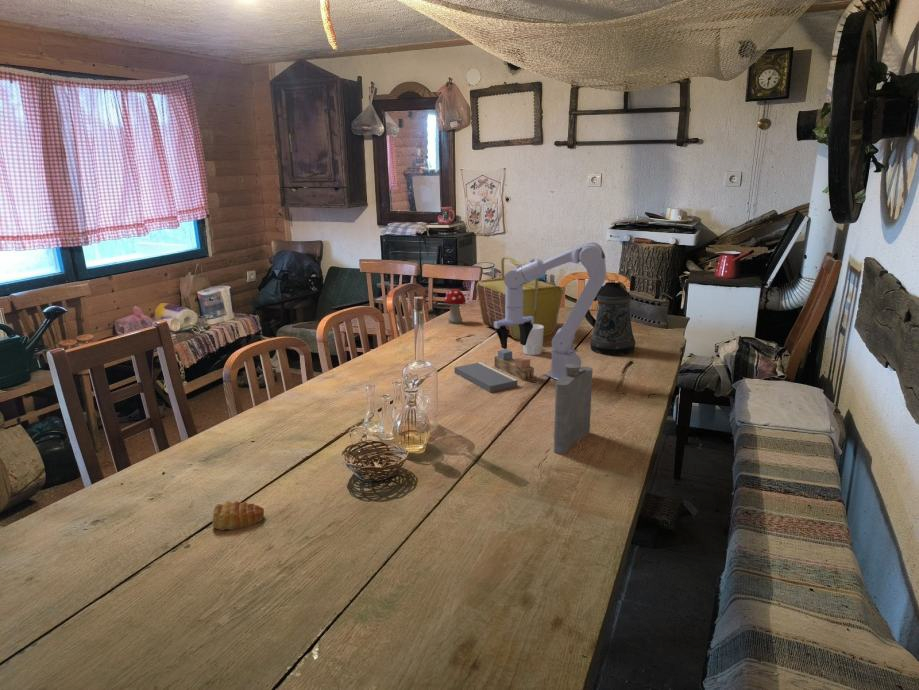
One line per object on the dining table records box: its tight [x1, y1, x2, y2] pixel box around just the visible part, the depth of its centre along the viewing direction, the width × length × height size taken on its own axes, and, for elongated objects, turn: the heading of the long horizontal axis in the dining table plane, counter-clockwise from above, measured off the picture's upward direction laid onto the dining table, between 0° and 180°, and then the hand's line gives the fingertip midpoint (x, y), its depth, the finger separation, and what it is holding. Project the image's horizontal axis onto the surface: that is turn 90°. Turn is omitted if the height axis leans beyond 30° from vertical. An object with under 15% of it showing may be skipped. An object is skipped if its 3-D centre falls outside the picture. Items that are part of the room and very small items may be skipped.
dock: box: [454, 361, 518, 393], centre depth 198 cm, size 22×10×2 cm, turn 30°
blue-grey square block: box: [497, 348, 513, 360], centre depth 208 cm, size 4×4×2 cm
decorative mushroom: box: [443, 288, 467, 325], centre depth 271 cm, size 10×9×15 cm
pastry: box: [211, 500, 265, 531], centre depth 120 cm, size 9×7×4 cm
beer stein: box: [584, 281, 636, 357], centre depth 226 cm, size 16×19×25 cm
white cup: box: [522, 324, 544, 356], centre depth 225 cm, size 8×8×10 cm
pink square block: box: [514, 356, 531, 368], centre depth 200 cm, size 4×4×2 cm
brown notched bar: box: [494, 355, 535, 382], centre depth 205 cm, size 17×4×4 cm, turn 30°
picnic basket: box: [475, 256, 564, 340], centre depth 254 cm, size 29×26×30 cm
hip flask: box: [553, 363, 594, 455], centre depth 150 cm, size 16×4×20 cm, turn 144°
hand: (513, 346), depth 203 cm, fingers open, 7 cm apart
